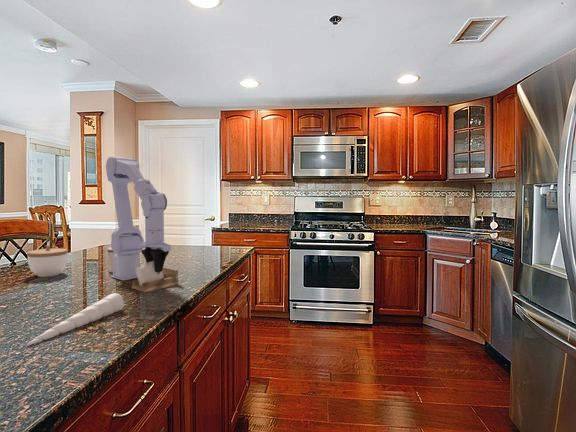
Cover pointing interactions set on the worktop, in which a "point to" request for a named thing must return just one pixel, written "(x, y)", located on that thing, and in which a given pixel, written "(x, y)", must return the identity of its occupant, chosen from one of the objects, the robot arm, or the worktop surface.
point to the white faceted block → (148, 273)
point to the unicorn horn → (84, 316)
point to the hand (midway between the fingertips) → (155, 270)
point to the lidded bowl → (47, 261)
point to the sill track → (159, 281)
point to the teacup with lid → (110, 259)
